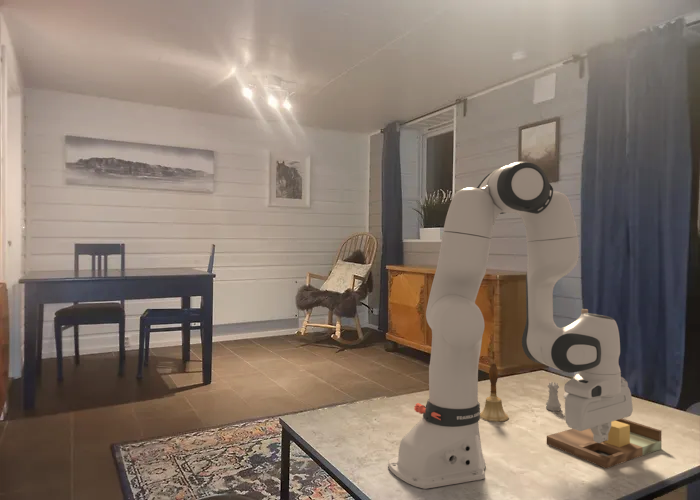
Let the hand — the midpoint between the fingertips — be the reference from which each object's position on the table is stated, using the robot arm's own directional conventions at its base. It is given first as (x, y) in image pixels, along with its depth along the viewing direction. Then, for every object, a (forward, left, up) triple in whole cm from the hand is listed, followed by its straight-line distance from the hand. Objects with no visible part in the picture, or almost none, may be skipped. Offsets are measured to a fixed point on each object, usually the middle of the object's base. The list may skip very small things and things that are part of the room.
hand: (600, 441), depth 114 cm
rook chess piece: (+21, +29, -4) cm, 36 cm away
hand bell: (0, +33, -5) cm, 34 cm away
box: (+8, +4, -4) cm, 10 cm away
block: (+8, +1, -2) cm, 8 cm away
